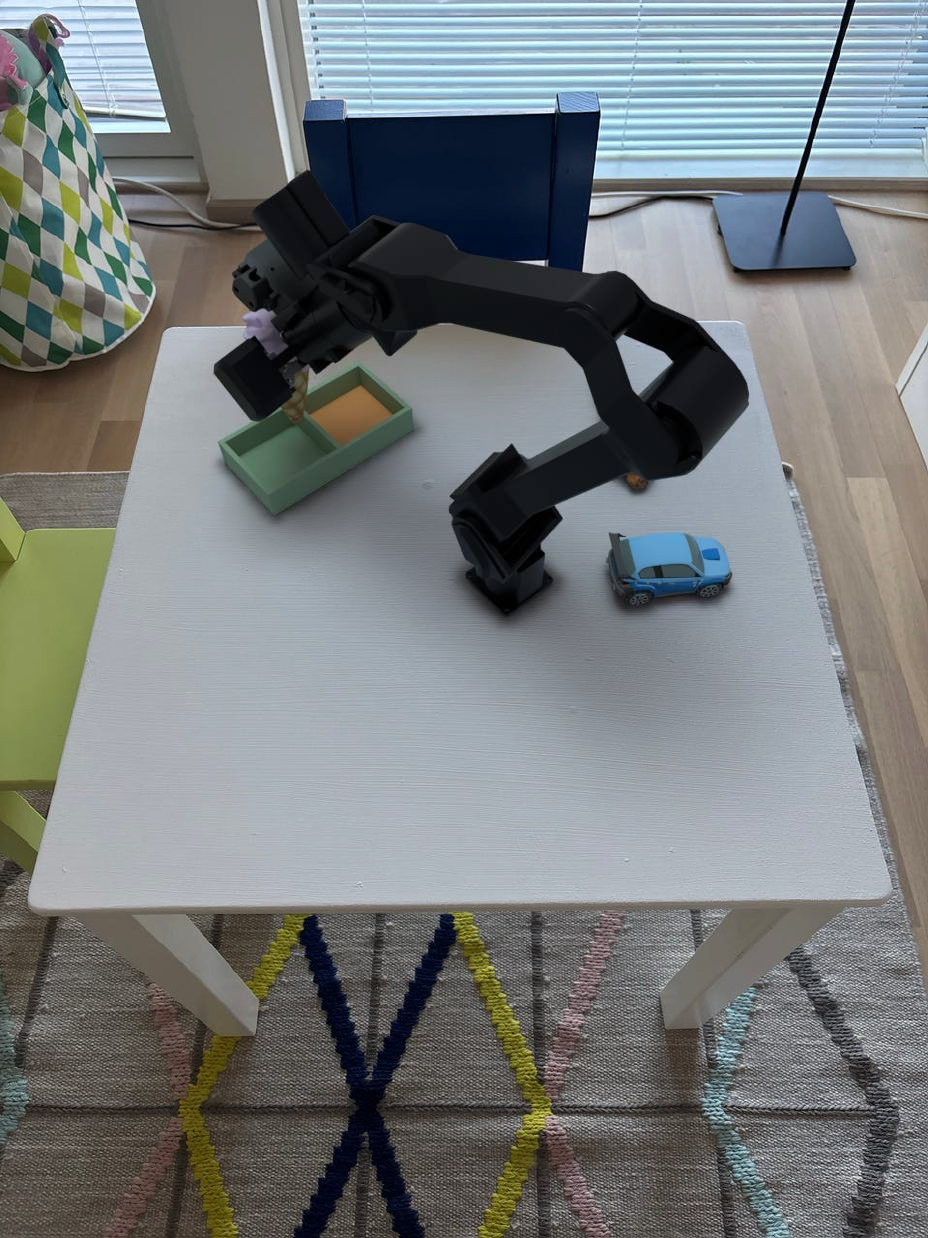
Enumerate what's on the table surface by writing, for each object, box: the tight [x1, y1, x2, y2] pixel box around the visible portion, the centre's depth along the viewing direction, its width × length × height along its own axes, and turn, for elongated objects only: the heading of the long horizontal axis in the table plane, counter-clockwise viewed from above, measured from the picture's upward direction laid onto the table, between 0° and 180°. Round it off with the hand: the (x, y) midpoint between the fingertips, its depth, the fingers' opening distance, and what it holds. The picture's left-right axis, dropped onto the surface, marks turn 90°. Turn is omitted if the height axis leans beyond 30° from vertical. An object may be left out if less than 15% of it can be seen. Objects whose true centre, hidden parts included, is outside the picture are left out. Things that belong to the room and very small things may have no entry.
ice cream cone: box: [241, 309, 311, 424], centre depth 91 cm, size 7×6×15 cm
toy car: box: [605, 531, 733, 607], centre depth 89 cm, size 6×12×6 cm, turn 96°
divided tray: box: [217, 360, 415, 516], centre depth 100 cm, size 10×19×3 cm, turn 130°
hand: (276, 359), depth 91 cm, fingers closed on ice cream cone, 6 cm apart
